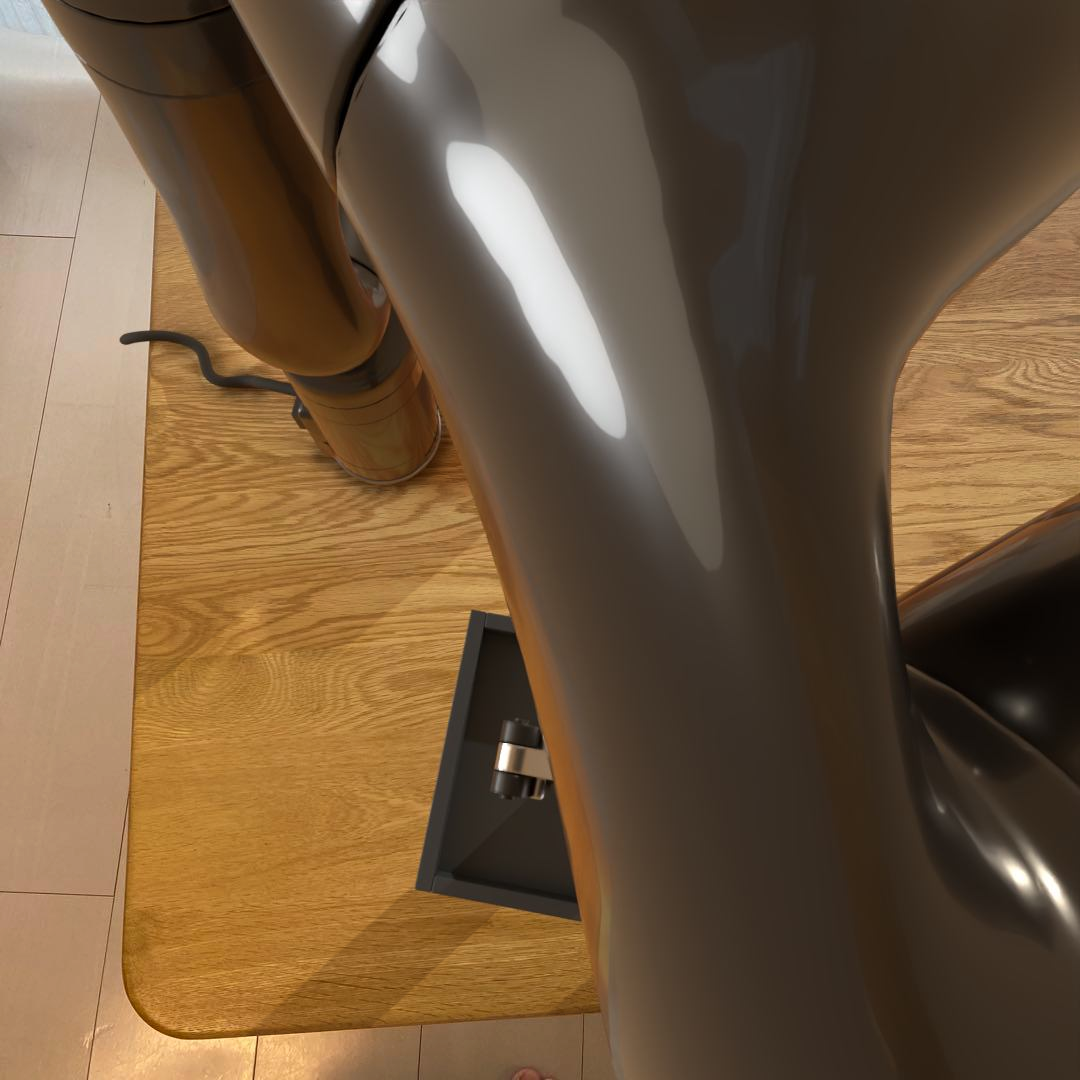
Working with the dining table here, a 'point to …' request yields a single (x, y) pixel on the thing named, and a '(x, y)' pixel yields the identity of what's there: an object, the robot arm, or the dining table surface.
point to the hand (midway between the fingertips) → (652, 783)
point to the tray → (481, 815)
